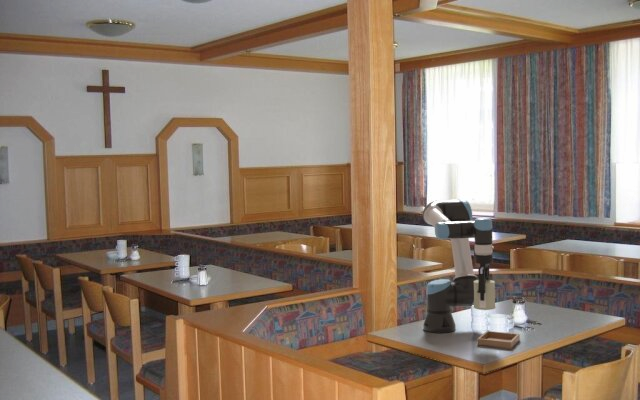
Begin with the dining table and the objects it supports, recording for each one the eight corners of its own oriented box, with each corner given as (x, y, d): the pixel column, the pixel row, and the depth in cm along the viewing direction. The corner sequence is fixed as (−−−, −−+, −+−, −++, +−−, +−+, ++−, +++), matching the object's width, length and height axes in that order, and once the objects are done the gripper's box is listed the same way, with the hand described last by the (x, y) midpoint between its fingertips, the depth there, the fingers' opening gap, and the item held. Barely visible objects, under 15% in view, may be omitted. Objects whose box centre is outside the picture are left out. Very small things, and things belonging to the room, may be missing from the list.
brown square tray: (477, 345, 304) (477, 338, 304) (487, 337, 316) (487, 330, 316) (511, 349, 297) (511, 342, 296) (519, 340, 309) (519, 334, 309)
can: (499, 307, 303) (499, 279, 302) (488, 310, 297) (487, 283, 296) (481, 304, 310) (480, 277, 309) (469, 308, 303) (469, 280, 302)
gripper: (488, 257, 290) (489, 311, 292) (496, 250, 310) (497, 300, 312) (470, 257, 293) (471, 310, 295) (479, 250, 313) (480, 299, 315)
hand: (484, 305), depth 303 cm, fingers closed on can, 9 cm apart
